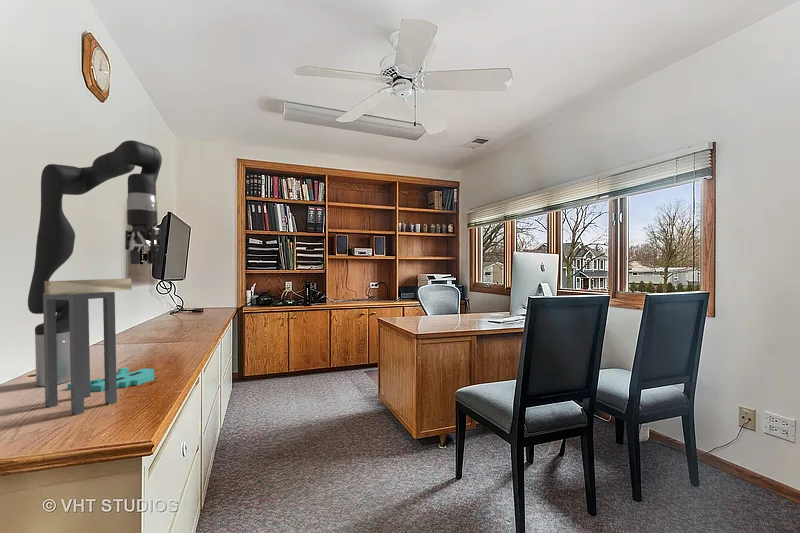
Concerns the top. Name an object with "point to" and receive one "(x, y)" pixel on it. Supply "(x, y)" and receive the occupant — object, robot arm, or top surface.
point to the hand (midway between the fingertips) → (143, 264)
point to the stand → (79, 348)
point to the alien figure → (123, 379)
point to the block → (86, 286)
